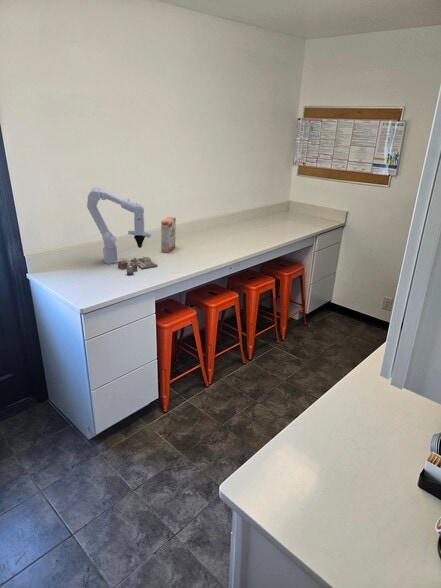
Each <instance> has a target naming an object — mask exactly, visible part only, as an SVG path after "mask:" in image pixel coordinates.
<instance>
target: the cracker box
mask: <svg viewBox="0 0 441 588" xmlns="http://www.w3.org/2000/svg"><path fill="white" fill-rule="evenodd" d="M160 223H161V224H160V225H161V227H160V228H161V229H160V232H161V234H160V236H161V237H160V239H161V240H160V242H161V243H160V244H161V245H160V246H161V251H160V252H161V253H165V254H166V253H170V252H171V251H173V250H174V249H175V248H176V229H177V228H176V224H177V223H176V217H173V216H168V217H167V216H166V218H165V219H163V220H161V222H160Z"/></svg>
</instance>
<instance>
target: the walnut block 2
mask: <svg viewBox="0 0 441 588" xmlns="http://www.w3.org/2000/svg"><path fill="white" fill-rule="evenodd" d="M128 263H129V264H128V265H133V273H134V272H138V266H137V263H133V262H128Z"/></svg>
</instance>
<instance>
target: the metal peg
mask: <svg viewBox="0 0 441 588" xmlns="http://www.w3.org/2000/svg"><path fill="white" fill-rule="evenodd" d="M126 276H134V272H133V265H129V264H128V265H127V269H126Z"/></svg>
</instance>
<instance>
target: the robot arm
mask: <svg viewBox="0 0 441 588" xmlns="http://www.w3.org/2000/svg"><path fill="white" fill-rule="evenodd" d="M100 200H101V201H104V200H105V201H106V200H108V201H111V202H112V203H116V204H117V205H120V206H121V209H123V210H126V211H128V212H130V213H133V215H134V217H133V221H134V222H133V223H134V230H128V231H127V232H128V233H127V235H130V236H131V235H132V236H133V238H134V240H135V242H136V245H137V248H139V249H140V248H142V247H143V244H144V241H145V238H148V239H150V238H152V234H151V233H149V232H146V231H145V217H144V216H145V214H144V213H145V211H144V205H142V204H140V203H138V202H134V201H132V200H131V199H130V198H124V199H122V198H120V197H118V196H116V195H115V194H113V193H112V192H111V193H110V192H108V191H106V190H104V189H100V187H92V189H91V191H90V192H89V194H88V195H87V202H86V203H87V204H86V208H87V210H88V212H89V214H90V215H91V217H92V219H93V221H94V223H95V224H96V226H97V228H98V230H99V232H100V234H101V237H102V240H103V245H104V246H103V251H102V253H103V258H102V261H103V262H104V263H105V264H107V265H109V264H110V265H111V264H118V262H119V261H120V260H119V259H118V247H117V244H116V242H117V238H116V236H115V235H113V234H112V232H111V231H110V230H109V228H108V226H107V224H106V222H105V220H104V218H103V216H102V214H101V211H99V209H98V207H97V205H98V203H99V201H100Z"/></svg>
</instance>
